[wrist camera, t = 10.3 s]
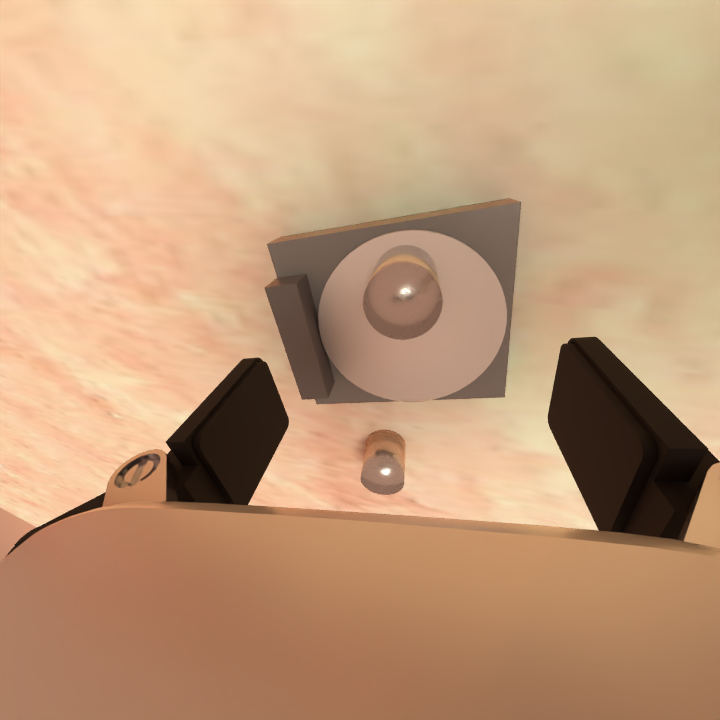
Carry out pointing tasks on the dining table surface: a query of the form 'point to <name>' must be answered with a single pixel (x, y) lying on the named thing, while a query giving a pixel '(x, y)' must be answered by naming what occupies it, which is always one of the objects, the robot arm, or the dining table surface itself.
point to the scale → (383, 354)
